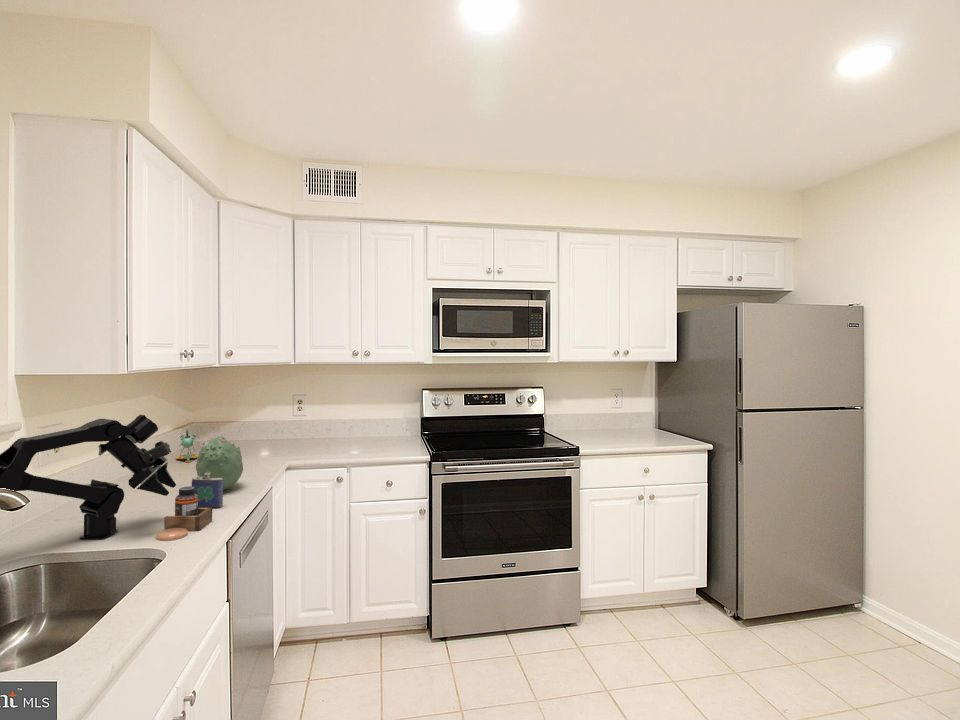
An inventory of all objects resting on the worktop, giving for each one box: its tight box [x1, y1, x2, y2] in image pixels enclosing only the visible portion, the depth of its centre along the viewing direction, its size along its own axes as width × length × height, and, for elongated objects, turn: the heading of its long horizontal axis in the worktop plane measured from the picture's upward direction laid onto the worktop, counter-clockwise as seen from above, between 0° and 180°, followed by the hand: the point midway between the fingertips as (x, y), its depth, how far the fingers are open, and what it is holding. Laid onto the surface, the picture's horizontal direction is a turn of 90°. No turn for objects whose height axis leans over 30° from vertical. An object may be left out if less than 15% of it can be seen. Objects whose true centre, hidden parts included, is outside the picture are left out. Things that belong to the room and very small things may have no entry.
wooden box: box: [163, 508, 213, 532], centre depth 155 cm, size 10×9×4 cm
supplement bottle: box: [174, 485, 198, 516], centre depth 155 cm, size 6×6×11 cm
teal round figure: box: [175, 429, 199, 464], centre depth 244 cm, size 10×18×15 cm, turn 17°
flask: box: [191, 473, 224, 510], centre depth 173 cm, size 10×3×12 cm, turn 95°
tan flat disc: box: [155, 528, 189, 542], centre depth 147 cm, size 8×8×1 cm
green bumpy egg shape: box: [195, 435, 244, 491], centre depth 193 cm, size 16×19×20 cm
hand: (171, 490), depth 154 cm, fingers open, 9 cm apart
